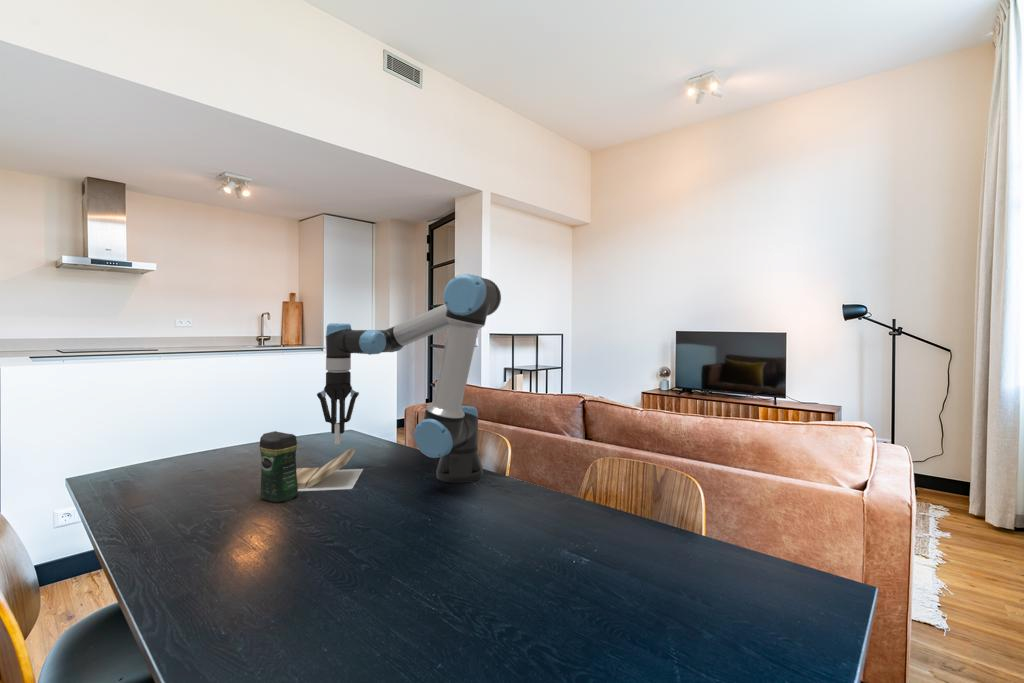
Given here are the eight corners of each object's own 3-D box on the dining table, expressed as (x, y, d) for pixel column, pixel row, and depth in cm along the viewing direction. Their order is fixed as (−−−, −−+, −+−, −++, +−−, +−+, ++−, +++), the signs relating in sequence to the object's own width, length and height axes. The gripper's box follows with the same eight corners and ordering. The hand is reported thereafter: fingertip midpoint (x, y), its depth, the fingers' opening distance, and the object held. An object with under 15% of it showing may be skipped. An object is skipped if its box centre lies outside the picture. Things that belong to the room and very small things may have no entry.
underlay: (363, 469, 158) (363, 468, 158) (352, 489, 138) (352, 488, 138) (285, 472, 155) (285, 471, 155) (262, 493, 135) (262, 492, 135)
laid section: (319, 472, 154) (319, 467, 154) (305, 488, 138) (305, 483, 138) (284, 473, 153) (284, 468, 153) (265, 490, 137) (265, 484, 137)
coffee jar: (303, 495, 133) (302, 431, 132) (278, 505, 126) (276, 438, 125) (281, 489, 137) (279, 427, 136) (255, 499, 130) (254, 433, 129)
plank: (355, 451, 156) (352, 447, 156) (345, 465, 140) (342, 460, 140) (323, 471, 154) (320, 467, 154) (309, 487, 139) (306, 483, 138)
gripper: (361, 370, 155) (360, 440, 156) (320, 369, 153) (319, 440, 154) (357, 372, 148) (356, 445, 148) (314, 372, 146) (313, 446, 146)
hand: (337, 443), depth 151 cm, fingers closed
